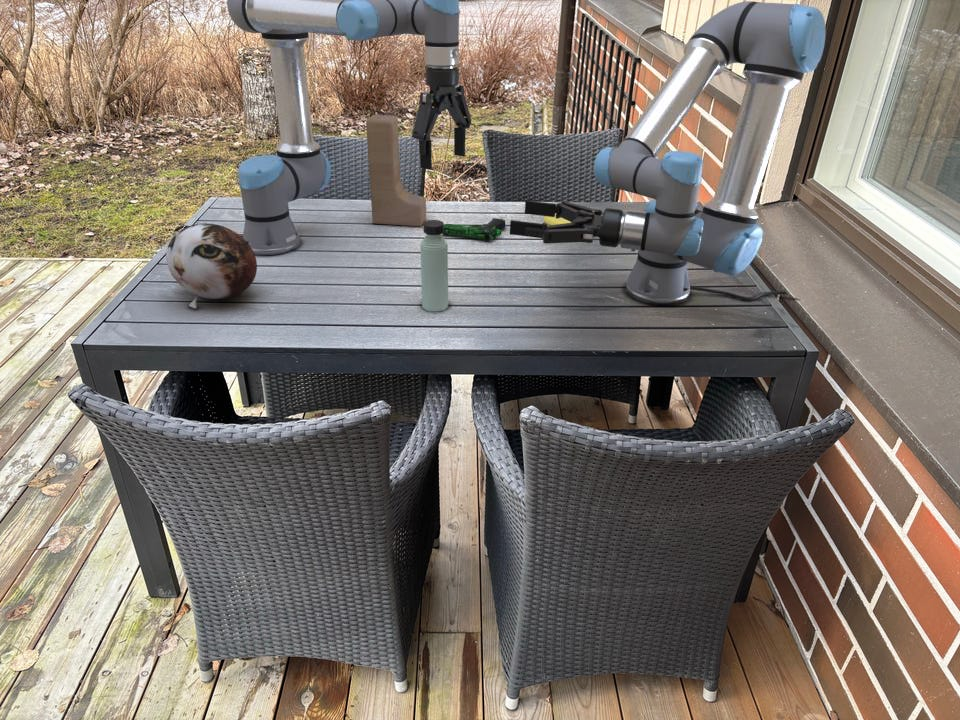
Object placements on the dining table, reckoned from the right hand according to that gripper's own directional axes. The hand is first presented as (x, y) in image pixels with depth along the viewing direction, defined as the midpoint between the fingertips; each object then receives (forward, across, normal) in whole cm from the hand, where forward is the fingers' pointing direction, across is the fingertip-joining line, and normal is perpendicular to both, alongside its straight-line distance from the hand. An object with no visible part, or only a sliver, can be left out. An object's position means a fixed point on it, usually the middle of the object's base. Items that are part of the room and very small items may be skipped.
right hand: (517, 216), depth 147 cm
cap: (+19, +3, -5) cm, 20 cm away
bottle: (+19, +3, -25) cm, 31 cm away
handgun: (+23, +52, -24) cm, 61 cm away
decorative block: (+47, +53, -24) cm, 75 cm away
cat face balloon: (+70, -8, -25) cm, 74 cm away
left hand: (+24, +22, +4) cm, 33 cm away
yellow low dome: (-2, +62, -23) cm, 67 cm away
